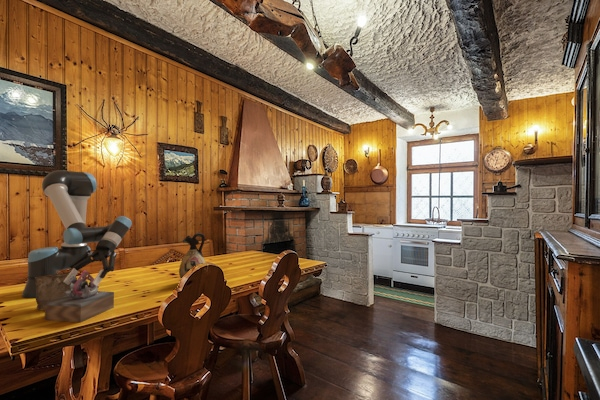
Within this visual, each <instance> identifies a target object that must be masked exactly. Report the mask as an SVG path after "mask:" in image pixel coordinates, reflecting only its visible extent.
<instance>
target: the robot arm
mask: <svg viewBox="0 0 600 400" xmlns="http://www.w3.org/2000/svg"><path fill="white" fill-rule="evenodd" d="M97 184H98V183H97V179H96V178H95V176H94V175H93V174H92V173H89V172H86V171H85V172H83V171H74V170H73V171H71V170H64V169H63V170H62V169H61V170H60V169H58V170H53V171H51V172H49V173H48V174H46V176H45V177H44V178H43V179H42V183H41V189H42V191H43V193H44V195H45V197H48V198H49V199H50V201H51V203H52V205H53V207H54V209H55V211H56V213H57V215H58V217H59V219H60V221H61V222H62V224H63V226H64V228H65V230H64V231H63V234H62V237H63V242H62V243H60V244H61V245H60V248H59V247H57V246H49V247H46V246H45V247H41V248H36V249H33V250H31V251H30V252H28V256H27V258H28V259H27V281H26V283H25V285H24V288H23V291H22V294H21V295H22V298H25V299H26V298H27V299H32V298H35V299H36V284H35V277H39V276H47V275H53V274H58V272H59V271H63V270H64V271H65V270H70V271H68V272H69V273H68V272H67V273H68V276H67V277H66V278H65V280H64V281H63V282H64V283H66V284H67V285H69V284H70V283H71V282H70V281H69V280H68V279H69V278H70V277H71V276H73V275H74V276H76V277H77V275H78V273H79V270H81V269H83V268H84V267H86V266H88V265H89V264H91V263H95V262H102V263H101V264H102V269H100V270H99V272H98V273H97V274H96V276H95V278H94V281H93V282H92V283H93V284H94V285H95V286H99V284H100V283H101V281H102V280H103V279H104V278H105V277H106V275H107V274H108V273H110V272H113V271H114V270H115V264H116V259H117V258H116V257H117V256H118V254H117V253H116V252H115V250H116V249H117V247H118V246H119V244H120V243H121V242H122V240H123V239H124V237H125V236H126V234H127V233H128V232H129V230H130V228H131V227H132V225H133V223H132V220H131V219H130V218H128V217H126V216H124V215H119V216H118V217H116V219H115V220H114V221H113V222H112V223H109V224H108V225H105V226H90V227H89V226H87V225H86V224H87V223H86V221H87V220H86V219H87V210H88V209H87V208H88V200H89V199H90V198H91V197H92V194H94V193H95V192H96V190H97V187H98V186H97ZM91 243H97V244H96V245H95V249H94V250H93V251H92V249H91V247H90V246H89V245H88V244H91ZM108 258H109V259H108Z"/></svg>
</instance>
